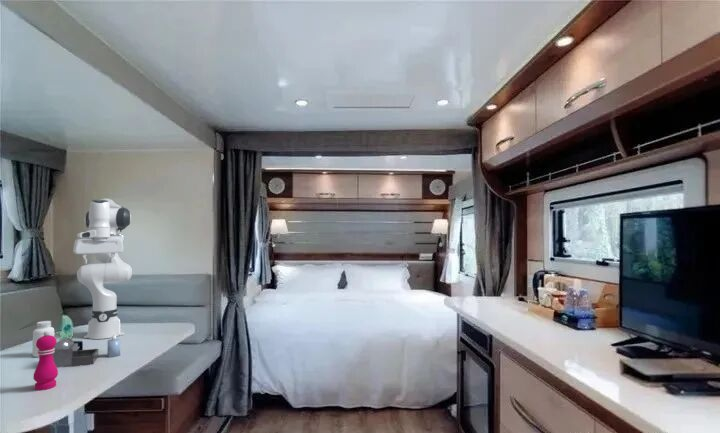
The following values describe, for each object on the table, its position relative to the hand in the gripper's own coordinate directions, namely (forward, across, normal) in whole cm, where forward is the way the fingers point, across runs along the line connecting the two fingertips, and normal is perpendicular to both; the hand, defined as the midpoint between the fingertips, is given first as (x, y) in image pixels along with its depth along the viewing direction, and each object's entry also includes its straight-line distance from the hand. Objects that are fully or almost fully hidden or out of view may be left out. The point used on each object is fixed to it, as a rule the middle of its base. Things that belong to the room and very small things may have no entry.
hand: (98, 263), depth 205 cm
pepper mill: (+42, +23, +40) cm, 62 cm away
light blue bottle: (+41, -4, +11) cm, 43 cm away
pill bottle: (+41, +20, -12) cm, 47 cm away
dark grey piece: (+41, +11, +11) cm, 44 cm away
